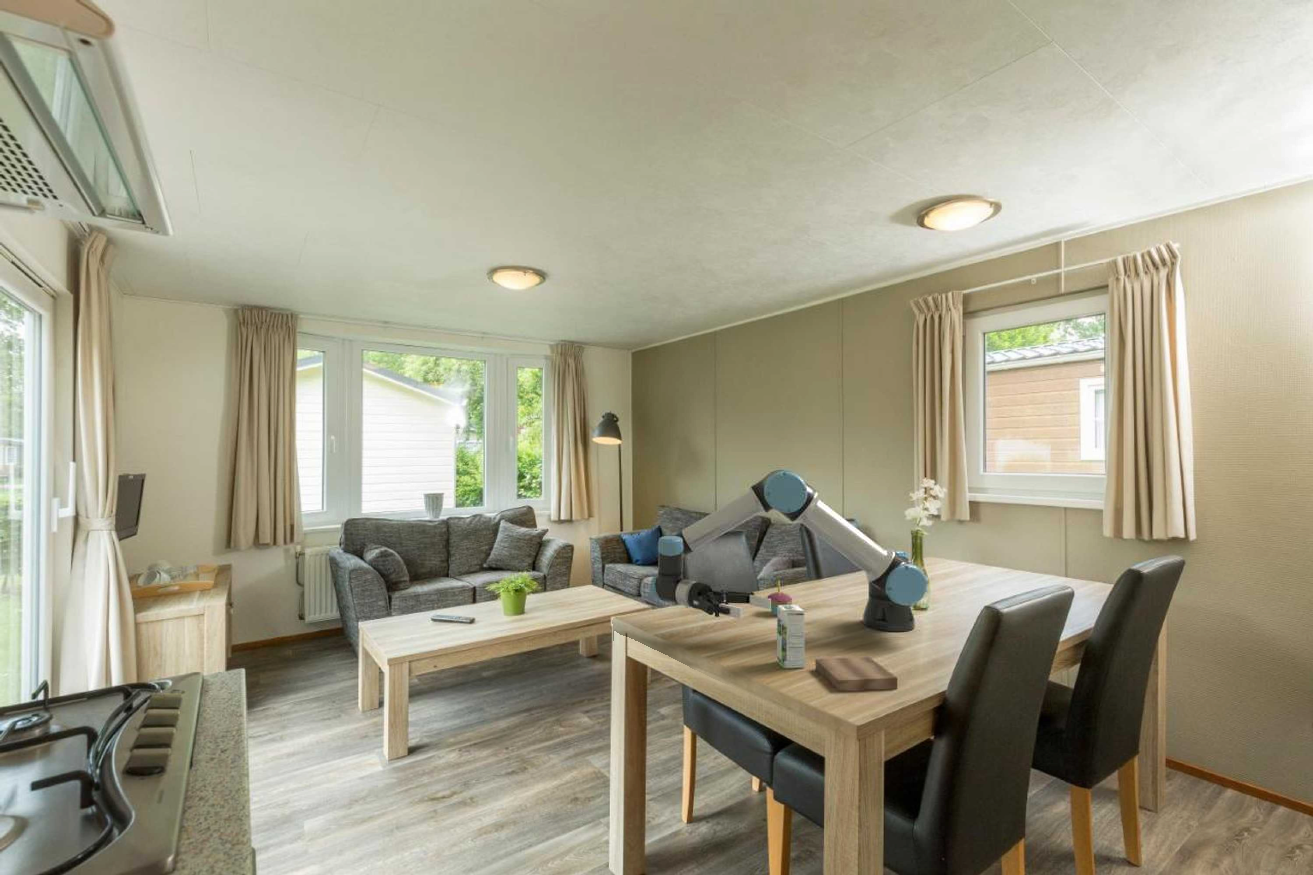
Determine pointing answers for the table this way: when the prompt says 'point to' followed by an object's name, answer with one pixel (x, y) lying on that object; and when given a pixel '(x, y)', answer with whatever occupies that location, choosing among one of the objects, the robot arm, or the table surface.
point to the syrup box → (790, 636)
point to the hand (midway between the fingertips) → (756, 608)
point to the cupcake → (779, 600)
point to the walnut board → (855, 674)
